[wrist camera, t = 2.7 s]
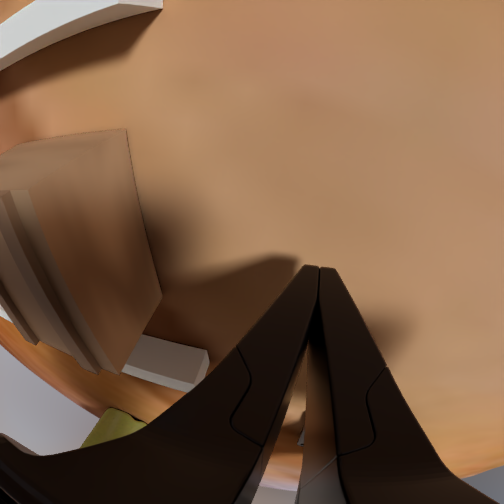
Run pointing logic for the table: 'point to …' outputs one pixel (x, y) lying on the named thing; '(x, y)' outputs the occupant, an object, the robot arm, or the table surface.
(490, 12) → the table surface
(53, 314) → the crate
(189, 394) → the robot arm
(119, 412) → the plant pot
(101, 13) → the bay
